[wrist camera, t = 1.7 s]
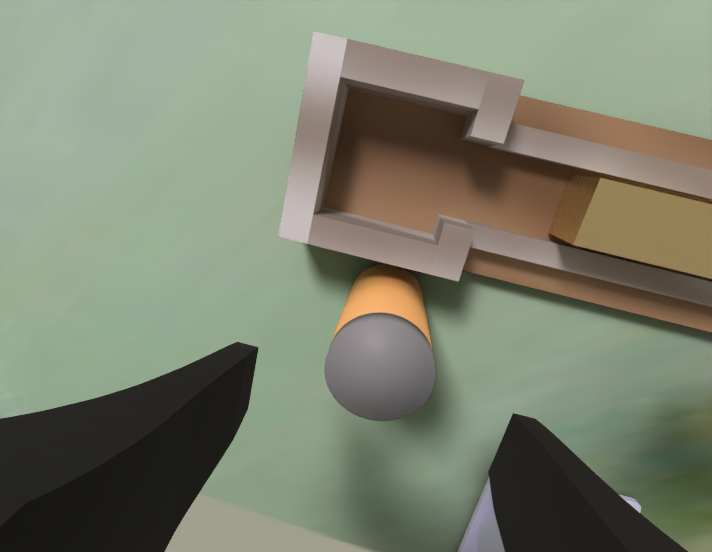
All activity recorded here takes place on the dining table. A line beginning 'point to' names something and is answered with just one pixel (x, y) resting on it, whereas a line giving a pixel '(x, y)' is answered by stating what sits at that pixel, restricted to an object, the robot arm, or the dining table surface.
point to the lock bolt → (636, 224)
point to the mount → (476, 178)
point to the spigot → (382, 347)
